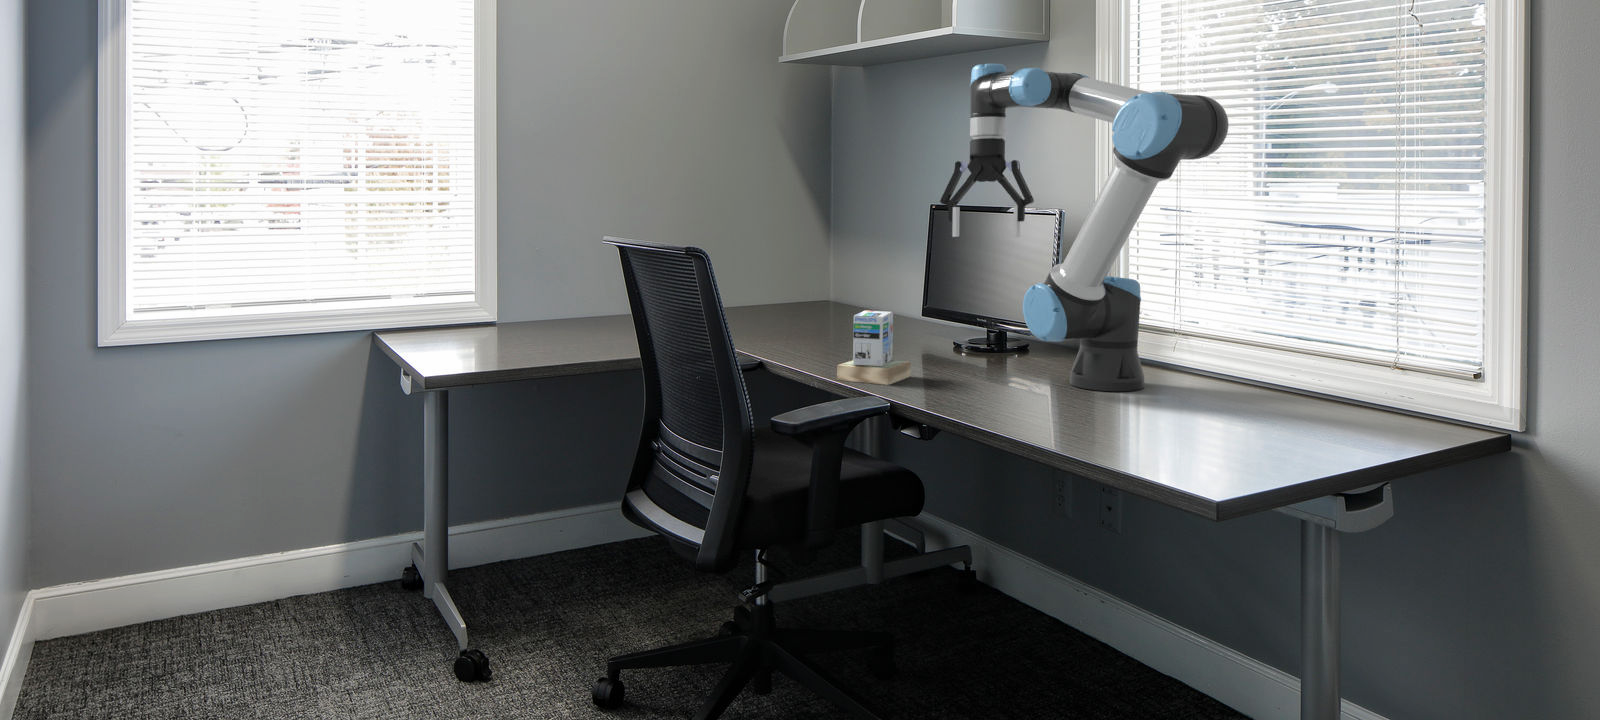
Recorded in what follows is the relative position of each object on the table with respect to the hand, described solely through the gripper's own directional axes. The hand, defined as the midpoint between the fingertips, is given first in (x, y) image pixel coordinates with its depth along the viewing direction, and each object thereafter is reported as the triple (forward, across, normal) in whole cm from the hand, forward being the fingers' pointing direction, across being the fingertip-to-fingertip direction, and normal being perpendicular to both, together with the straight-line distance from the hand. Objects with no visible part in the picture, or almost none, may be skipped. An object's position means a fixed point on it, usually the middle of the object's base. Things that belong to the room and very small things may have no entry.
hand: (985, 237), depth 245 cm
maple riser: (+30, +20, +16) cm, 40 cm away
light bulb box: (+27, +20, +17) cm, 37 cm away
